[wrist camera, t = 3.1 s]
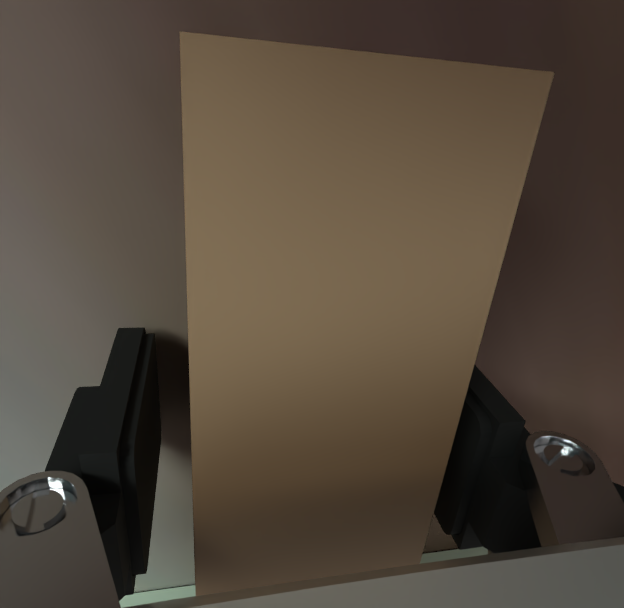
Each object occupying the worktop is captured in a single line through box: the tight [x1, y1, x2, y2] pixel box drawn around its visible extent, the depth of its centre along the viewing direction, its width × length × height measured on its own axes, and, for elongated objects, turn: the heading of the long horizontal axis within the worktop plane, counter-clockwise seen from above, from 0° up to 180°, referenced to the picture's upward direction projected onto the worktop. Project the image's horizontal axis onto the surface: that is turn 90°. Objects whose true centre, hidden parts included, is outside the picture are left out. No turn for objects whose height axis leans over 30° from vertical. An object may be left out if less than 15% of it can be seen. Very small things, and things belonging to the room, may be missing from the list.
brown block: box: [180, 32, 555, 596], centre depth 10 cm, size 13×4×5 cm, turn 175°
